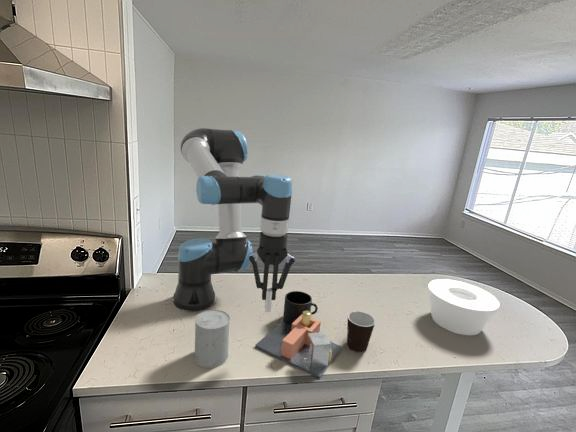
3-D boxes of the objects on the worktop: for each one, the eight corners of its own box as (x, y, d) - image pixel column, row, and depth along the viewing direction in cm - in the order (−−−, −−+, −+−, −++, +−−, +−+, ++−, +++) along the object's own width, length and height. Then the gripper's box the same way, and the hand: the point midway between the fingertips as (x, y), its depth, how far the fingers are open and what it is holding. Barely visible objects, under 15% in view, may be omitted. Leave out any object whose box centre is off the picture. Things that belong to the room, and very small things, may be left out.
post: (298, 336, 106) (301, 313, 104) (302, 332, 109) (305, 309, 107) (306, 339, 105) (309, 316, 103) (310, 335, 107) (312, 312, 105)
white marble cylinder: (197, 345, 99) (198, 309, 96) (229, 345, 100) (231, 310, 97) (191, 367, 90) (192, 328, 87) (226, 368, 91) (228, 329, 88)
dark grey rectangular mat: (255, 347, 100) (255, 344, 100) (282, 323, 114) (282, 321, 114) (319, 378, 90) (320, 376, 90) (341, 348, 103) (341, 346, 103)
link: (296, 361, 94) (297, 347, 93) (275, 352, 98) (277, 337, 96) (319, 334, 108) (320, 321, 107) (300, 327, 111) (301, 314, 110)
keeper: (305, 354, 98) (308, 333, 96) (325, 352, 99) (328, 331, 98) (311, 367, 93) (314, 345, 91) (332, 365, 94) (335, 343, 92)
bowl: (487, 316, 131) (494, 289, 128) (495, 350, 110) (505, 318, 107) (423, 299, 141) (429, 273, 138) (420, 327, 119) (427, 297, 116)
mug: (318, 328, 113) (321, 305, 111) (284, 327, 111) (286, 304, 109) (313, 313, 122) (316, 291, 120) (281, 312, 121) (284, 290, 118)
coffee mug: (365, 358, 100) (370, 330, 97) (339, 347, 104) (343, 319, 101) (376, 340, 109) (381, 313, 107) (352, 330, 114) (356, 304, 111)
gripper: (249, 235, 85) (244, 315, 91) (299, 238, 86) (291, 317, 92) (250, 226, 92) (245, 301, 98) (296, 229, 93) (289, 303, 99)
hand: (267, 309), depth 95 cm, fingers closed
